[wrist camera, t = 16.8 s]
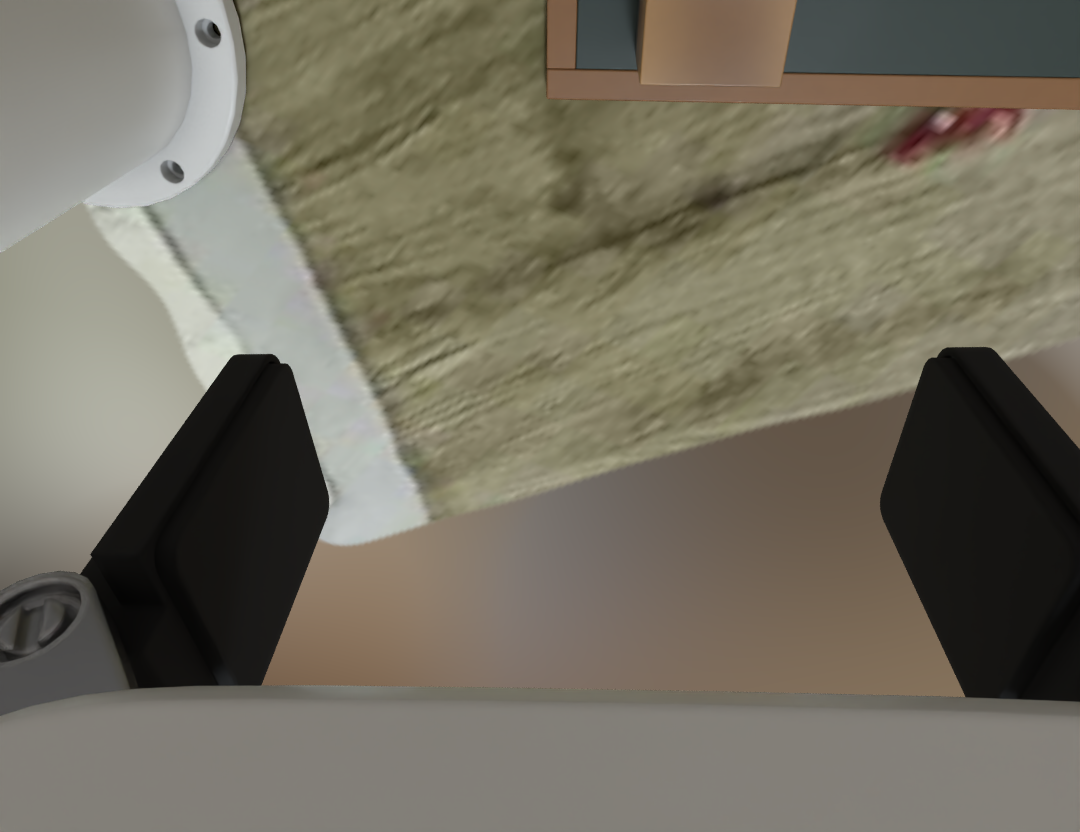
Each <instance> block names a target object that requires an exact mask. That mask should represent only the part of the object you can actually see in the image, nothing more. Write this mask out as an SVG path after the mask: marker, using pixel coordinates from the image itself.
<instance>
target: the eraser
mask: <svg viewBox="0 0 1080 832" xmlns="http://www.w3.org/2000/svg"><path fill="white" fill-rule="evenodd" d="M796 4H797V0H639V1H638V15H637V28H636V42H635V56H636V64H637V70H638V77H639V83H640V85H668V86H721V87H773V88H779V87H780V86H781V83H782V78H783V72H784V67H785V62H786V56H787V51H788V46H789V41H790V35H791V30H792V25H793V19H794V14H795V9H796Z"/></svg>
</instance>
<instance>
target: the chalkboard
mask: <svg viewBox="0 0 1080 832" xmlns="http://www.w3.org/2000/svg"><path fill="white" fill-rule="evenodd" d="M638 1H639V0H547V83H546V97H547V99H566V100H616V101H666V102H717V103H767V104H818V105H868V106H918V107H969V108H1019V109H1070V110H1080V0H797V4H796V9H795V14H794V19H793V25H792V30H791V35H790V41H789V46H788V51H787V56H786V62H785V67H784V72H783V78H782V83H781V86H780V87H779V88H773V87H721V86H668V85H640V83H639V77H638V70H637V64H636V56H635V42H636V28H637V15H638Z"/></svg>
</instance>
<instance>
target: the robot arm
mask: <svg viewBox="0 0 1080 832" xmlns="http://www.w3.org/2000/svg"><path fill="white" fill-rule="evenodd" d="M213 23H214V24H216V25H217V27H218V29H219V31H220V33H221V36H218V35H217V34H216V33H215V32H214V30H213ZM245 95H246V55H245V50H244V44H243V39H242V33H241V27H240V22H239V18H238V15H237V12H236V9H235V6H234V3H233V0H0V253H1V252H3V251H4V250H6V249H8V248H9V247H11V246H12V245H14V244H16V243H17V242H19V241H20V240H22V239H23V238H25V237H27V236H28V235H30V234H31V233H33V232H35V231H36V230H38V229H39V228H41V227H43V226H44V225H46V224H47V223H49V222H51V221H52V220H53V219H55V218H57V217H58V216H60V215H61V214H63V213H65V212H66V211H68V210H70V209H71V208H72V207H74V206H76V205H78V204H79V203H85V204H89V205H97V206H105V207H113V208H126V207H140V206H148V205H151V204H155V203H158V202H162V201H165V200H168V199H172V198H173V197H175V196H177V195H178V194H180V193H182V192H184V191H185V190H187V189H189V188H190V187H192V186H194V185H195V184H196V183H197V182H199V181H200V180H201V179H202V178H204V177H205V176H206V175H207V174H208V173H210V172H211V171H212V170H213V169H214V168H215V166H216V165H217V164H218V162H219V161H220V160H221V158H222V157H223V156H224V155H225V153H226V152H227V151H228V149H229V147H230V145H231V143H232V141H233V138H234V136H235V134H236V131H237V129H238V127H239V124H240V121H241V116H242V111H243V105H244V100H245ZM179 166H180V167H181V168H180V167H179ZM328 510H329V495H328V491H327V487H326V484H325V480H324V477H323V474H322V470H321V467H320V463H319V460H318V457H317V453H316V450H315V446H314V443H313V440H312V436H311V433H310V429H309V426H308V423H307V419H306V416H305V412H304V409H303V406H302V402H301V399H300V395H299V392H298V389H297V385H296V382H295V378H294V375H293V372H292V369H291V368H290V366H289V365H288V364H280V361H279V360H278V358H277V357H276V356H275V355H273V354H239V355H234V356H232V357H231V358H230V360H229V361H228V362H227V364H226V365H225V367H224V368H223V369H222V371H221V372H220V374H219V375H218V376H217V378H216V379H215V381H214V382H213V383H212V385H211V386H210V388H209V389H208V390H207V392H206V393H205V395H204V396H203V397H202V399H201V400H200V402H199V403H198V404H197V406H196V407H195V409H194V410H193V411H192V413H191V414H190V416H189V417H188V418H187V420H186V421H185V423H184V424H183V425H182V427H181V428H180V430H179V431H178V432H177V434H176V435H175V437H174V438H173V439H172V441H171V442H170V444H169V445H168V446H167V448H166V449H165V451H164V452H163V453H162V455H161V456H160V458H159V459H158V460H157V462H156V463H155V465H154V466H153V467H152V469H151V470H150V472H149V473H148V475H147V476H146V477H145V479H144V480H143V481H142V483H141V484H140V486H139V487H138V488H137V490H136V491H135V493H134V494H133V495H132V497H131V498H130V500H129V501H128V502H127V504H126V505H125V507H124V508H123V510H122V511H121V512H120V514H119V515H118V516H117V518H116V519H115V521H114V522H113V523H112V525H111V526H110V528H109V529H108V530H107V532H106V533H105V534H104V536H103V537H102V539H101V540H100V542H99V543H98V544H97V546H96V547H95V549H94V550H93V551H92V553H91V556H92V558H91V560H90V561H89V562H88V564H87V565H86V567H85V568H84V569H83V571H82V572H81V574H78V573H75V572H64V571H56V572H49V573H43V574H38V575H35V576H32V577H29V578H26V579H24V580H21V581H18V582H16V583H14V584H12V585H10V586H9V587H7V588H5V589H3V590H1V591H0V832H1080V449H1079V448H1078V447H1077V446H1076V444H1074V442H1073V441H1072V440H1071V439H1070V438H1069V436H1068V435H1067V434H1066V433H1065V432H1064V431H1063V429H1062V428H1061V427H1060V426H1059V425H1058V424H1057V422H1056V421H1055V420H1054V419H1053V418H1052V417H1051V415H1050V414H1049V413H1048V412H1047V411H1046V410H1045V409H1044V407H1043V406H1042V405H1041V404H1040V403H1039V402H1038V400H1037V399H1036V398H1035V397H1034V396H1033V395H1032V393H1031V392H1030V391H1029V390H1028V389H1027V388H1026V386H1025V385H1024V384H1023V383H1022V382H1021V381H1020V379H1019V378H1018V377H1017V376H1016V375H1015V374H1014V373H1013V372H1012V370H1011V369H1010V368H1009V367H1008V365H1007V364H1006V363H1005V362H1004V361H1003V360H1002V358H1001V357H1000V356H999V355H998V354H997V353H996V352H995V351H994V350H993V349H992V348H988V347H952V348H945V349H943V350H942V351H941V352H940V353H939V354H938V357H937V358H930V359H928V361H927V362H926V363H925V365H924V368H923V371H922V374H921V377H920V380H919V383H918V386H917V389H916V392H915V395H914V398H913V400H912V404H911V407H910V409H909V412H908V415H907V418H906V422H905V424H904V427H903V430H902V433H901V437H900V440H899V443H898V445H897V448H896V451H895V454H894V457H893V460H892V463H891V466H890V469H889V472H888V475H887V478H886V481H885V484H884V487H883V490H882V493H881V498H880V510H881V514H882V517H883V520H884V523H885V525H886V527H887V529H888V531H889V533H890V535H891V538H892V540H893V542H894V544H895V546H896V548H897V551H898V553H899V555H900V557H901V559H902V561H903V563H904V565H905V567H906V570H907V572H908V574H909V576H910V578H911V580H912V583H913V585H914V587H915V589H916V591H917V593H918V596H919V598H920V600H921V602H922V604H923V606H924V609H925V611H926V613H927V615H928V617H929V619H930V621H931V624H932V626H933V628H934V630H935V632H936V634H937V636H938V639H939V641H940V643H941V645H942V647H943V649H944V651H945V654H946V656H947V658H948V660H949V662H950V664H951V666H952V669H953V671H954V673H955V675H956V677H957V679H958V681H959V683H960V686H961V688H962V690H963V692H964V694H965V697H941V696H899V695H854V694H811V693H810V694H809V693H767V692H719V691H718V692H717V691H665V690H662V691H661V690H609V689H607V690H606V689H551V688H550V689H547V688H486V687H485V688H484V687H482V688H481V687H407V686H406V687H405V686H402V687H401V686H327V685H325V686H324V685H305V686H304V685H299V686H298V685H292V686H291V685H290V686H289V685H288V686H285V685H283V686H282V685H281V686H261V685H262V682H263V680H264V677H265V674H266V672H267V669H268V666H269V664H270V662H271V659H272V657H273V654H274V652H275V649H276V646H277V644H278V641H279V639H280V636H281V634H282V631H283V628H284V626H285V623H286V621H287V618H288V616H289V613H290V611H291V608H292V605H293V603H294V600H295V598H296V595H297V592H298V590H299V587H300V585H301V582H302V580H303V577H304V575H305V572H306V570H307V567H308V564H309V562H310V559H311V557H312V554H313V552H314V549H315V546H316V544H317V541H318V539H319V536H320V534H321V531H322V529H323V526H324V523H325V521H326V518H327V515H328Z"/></svg>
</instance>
